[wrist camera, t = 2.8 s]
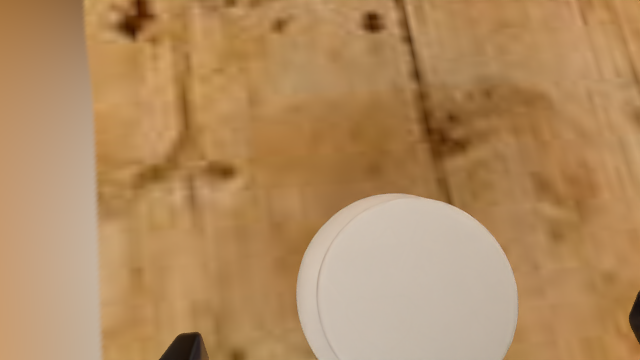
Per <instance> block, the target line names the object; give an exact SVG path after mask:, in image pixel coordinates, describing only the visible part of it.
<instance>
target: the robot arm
mask: <svg viewBox="0 0 640 360" xmlns="http://www.w3.org/2000/svg"><path fill="white" fill-rule="evenodd" d="M629 322H630V326H631V328H632V330H633V332H634V334H635V336H636V338H637V340H638V342H639V344H640V291H639V292H638V294H637V297H636V299H635V302H634V304H633V307H632V309H631V312H630V315H629ZM159 360H209V357H208V354H207V351H206V348H205V345H204V342H203V339H202V336H201V334H200V333H199V332H190V333H182V334H180V335H178V336H177V337H176V338H175V340H174V341H173V342H172V343H171V345H170V346H169V347H168V349H167V350H166V351H165V353H164V354H163V355H162V356H161V358H160V359H159Z"/></svg>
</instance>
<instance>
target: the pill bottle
mask: <svg viewBox="0 0 640 360" xmlns="http://www.w3.org/2000/svg"><path fill="white" fill-rule="evenodd" d="M296 296H297V308H298V315H299V319H300V323H301V326H302V329H303V332H304V335H305V337H306V339H307V341H308V344H309V346H310V347H311V349H312V351H313V352H314V354H315V356H316V357H317V358H318V360H503V358H504V357H505V355H506V353H507V351H508V349H509V347H510V345H511V343H512V340H513V337H514V333H515V330H516V325H517V319H518V292H517V286H516V282H515V278H514V273H513V271H512V268H511V265H510V263H509V261H508V259H507V257H506V255H505V253H504V251H503V250H502V248H501V246H500V245H499V243H498V242H497V240H496V239H495V238H494V237H493V235H492V234H491V233H490V232H489V231H488V230H487V229H486V228H485V227H484V226H483V225H482V224H481V223H480V222H478V221H477V220H476V219H475V218H473V217H472V216H470V215H469V214H467V213H466V212H464V211H462V210H460V209H459V208H457V207H454V206H452V205H450V204H447V203H444V202H441V201H437V200H433V199H427V198H423V197H420V196H415V195H409V194H393V193H390V194H380V195H374V196H370V197H367V198H364V199H361V200H358V201H356V202H354V203H352V204H350V205H348V206H346V207H345V208H343V209H341V210H340V211H338V212H337V213H336V214H335V215H333V216H332V217H331V218H330V219H329V220H328V221H327V222H326V223H325V224H324V225H323V226H322V227H321V228H320V229H319V231H318V232H317V233H316V235H315V236H314V237H313V239H312V241H311V242H310V244H309V246H308V248H307V250H306V252H305V254H304V256H303V259H302V262H301V266H300V270H299V274H298V279H297V291H296Z"/></svg>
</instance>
